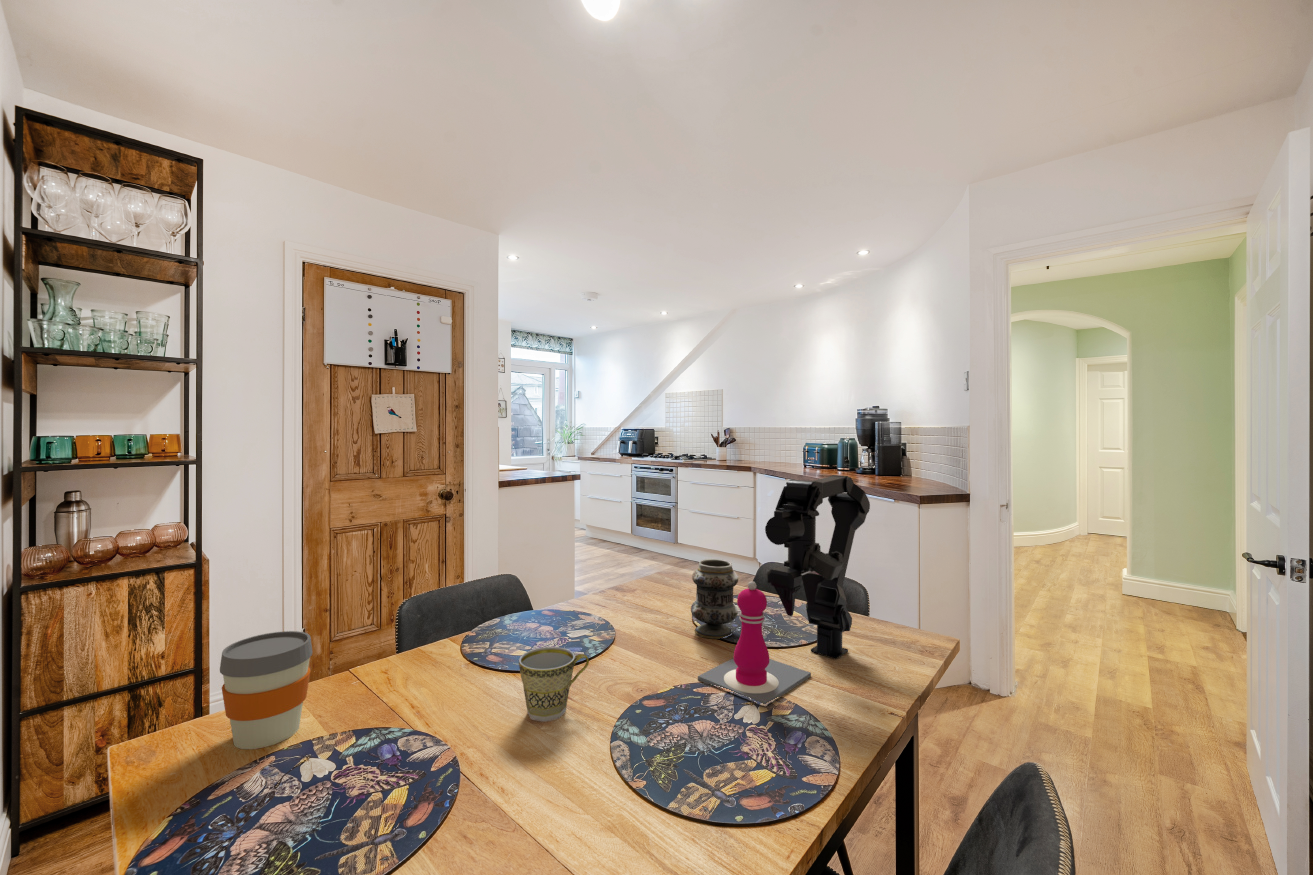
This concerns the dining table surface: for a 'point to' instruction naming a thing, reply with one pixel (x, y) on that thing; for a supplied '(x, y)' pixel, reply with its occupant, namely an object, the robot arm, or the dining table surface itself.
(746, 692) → the mat
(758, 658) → the pepper mill
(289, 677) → the reusable coffee cup
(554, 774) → the dining table surface
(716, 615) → the apothecary jar
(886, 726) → the dining table surface
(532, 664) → the ceramic cup
